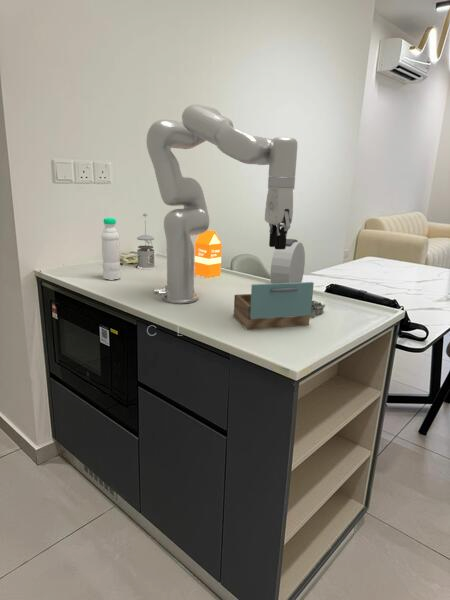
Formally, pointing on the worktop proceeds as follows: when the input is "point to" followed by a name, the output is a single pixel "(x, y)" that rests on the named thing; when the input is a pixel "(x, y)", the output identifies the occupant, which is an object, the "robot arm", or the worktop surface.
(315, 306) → the egg carton
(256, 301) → the light blue flat panel
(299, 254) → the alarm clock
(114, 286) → the worktop surface
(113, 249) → the water bottle
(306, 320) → the wooden open box
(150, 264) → the french press
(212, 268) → the orange juice
